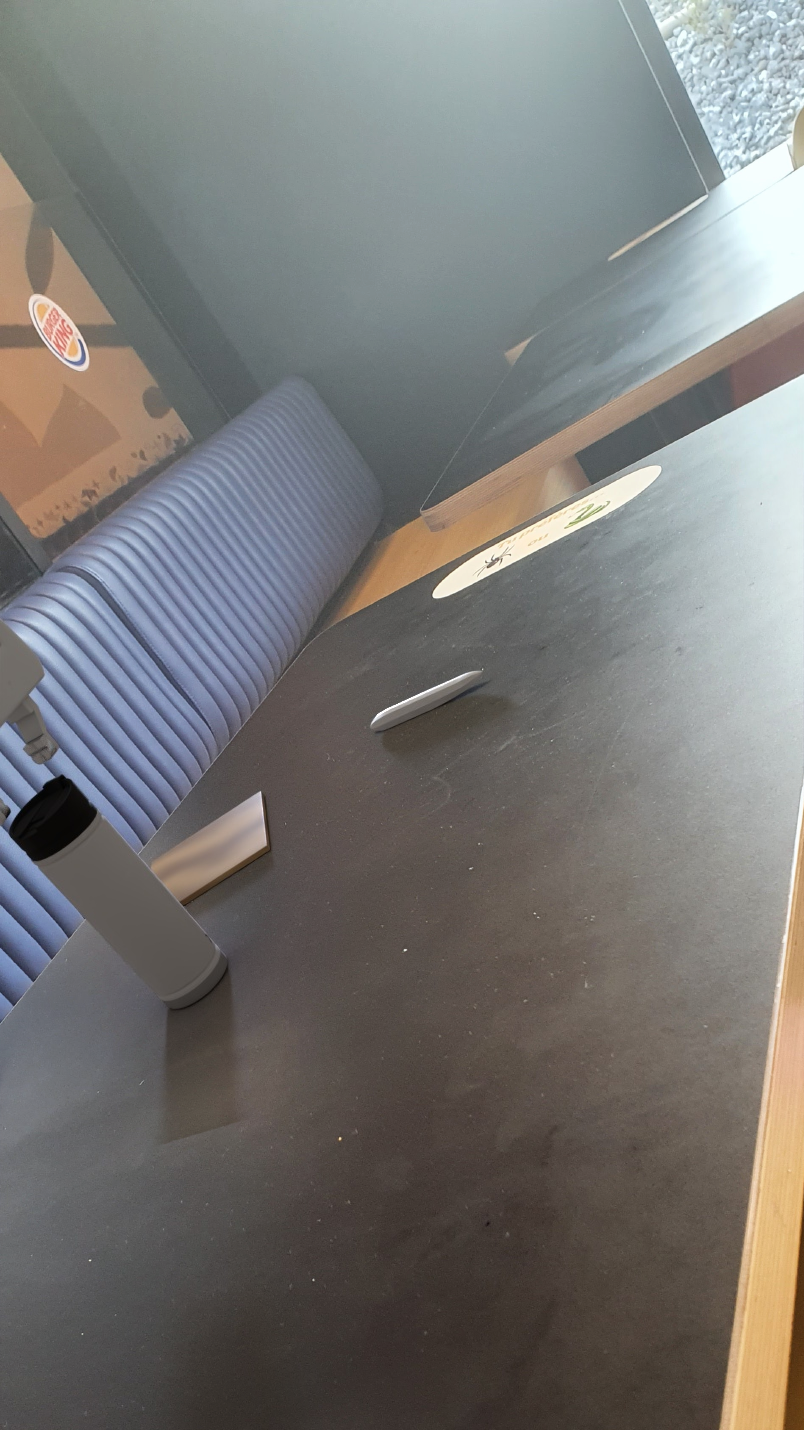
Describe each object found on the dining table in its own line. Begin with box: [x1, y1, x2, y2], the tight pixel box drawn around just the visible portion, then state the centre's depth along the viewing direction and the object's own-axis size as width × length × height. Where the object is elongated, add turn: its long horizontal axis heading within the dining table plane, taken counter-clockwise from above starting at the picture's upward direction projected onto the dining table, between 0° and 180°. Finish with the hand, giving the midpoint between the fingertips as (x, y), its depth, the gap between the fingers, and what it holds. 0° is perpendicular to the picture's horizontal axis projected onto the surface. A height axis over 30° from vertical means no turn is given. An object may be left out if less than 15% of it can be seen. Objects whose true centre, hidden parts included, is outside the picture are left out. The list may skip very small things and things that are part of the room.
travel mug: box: [8, 773, 228, 1010], centre depth 91 cm, size 6×7×20 cm
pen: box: [369, 670, 484, 732], centre depth 116 cm, size 2×14×2 cm, turn 80°
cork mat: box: [150, 790, 271, 907], centre depth 116 cm, size 14×14×1 cm
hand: (26, 788), depth 86 cm, fingers open, 8 cm apart
